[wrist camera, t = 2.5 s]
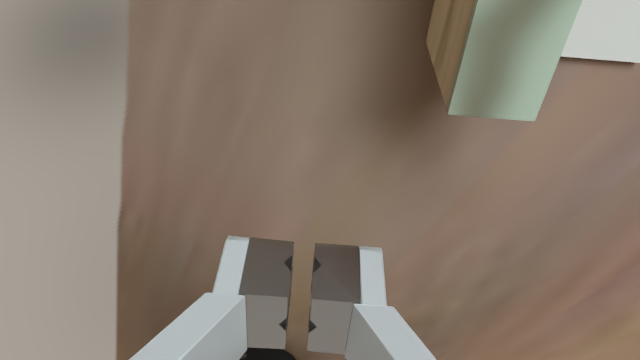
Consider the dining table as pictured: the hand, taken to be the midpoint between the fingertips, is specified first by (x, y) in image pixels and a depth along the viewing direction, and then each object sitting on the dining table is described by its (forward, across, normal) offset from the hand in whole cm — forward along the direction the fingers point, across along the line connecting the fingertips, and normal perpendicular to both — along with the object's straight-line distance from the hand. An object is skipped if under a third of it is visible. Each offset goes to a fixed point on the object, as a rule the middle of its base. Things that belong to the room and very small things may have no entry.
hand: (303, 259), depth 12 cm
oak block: (+27, -10, 0) cm, 29 cm away
